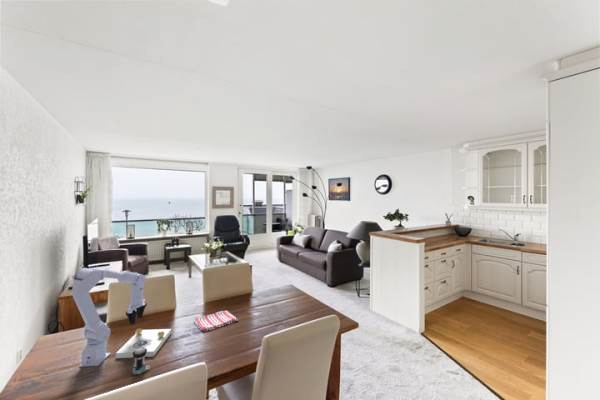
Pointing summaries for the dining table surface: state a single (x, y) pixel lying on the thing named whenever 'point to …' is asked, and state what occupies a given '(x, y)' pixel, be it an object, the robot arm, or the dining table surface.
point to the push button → (139, 360)
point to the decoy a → (138, 331)
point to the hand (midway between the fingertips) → (136, 320)
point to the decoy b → (160, 334)
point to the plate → (149, 338)
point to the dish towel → (214, 320)
